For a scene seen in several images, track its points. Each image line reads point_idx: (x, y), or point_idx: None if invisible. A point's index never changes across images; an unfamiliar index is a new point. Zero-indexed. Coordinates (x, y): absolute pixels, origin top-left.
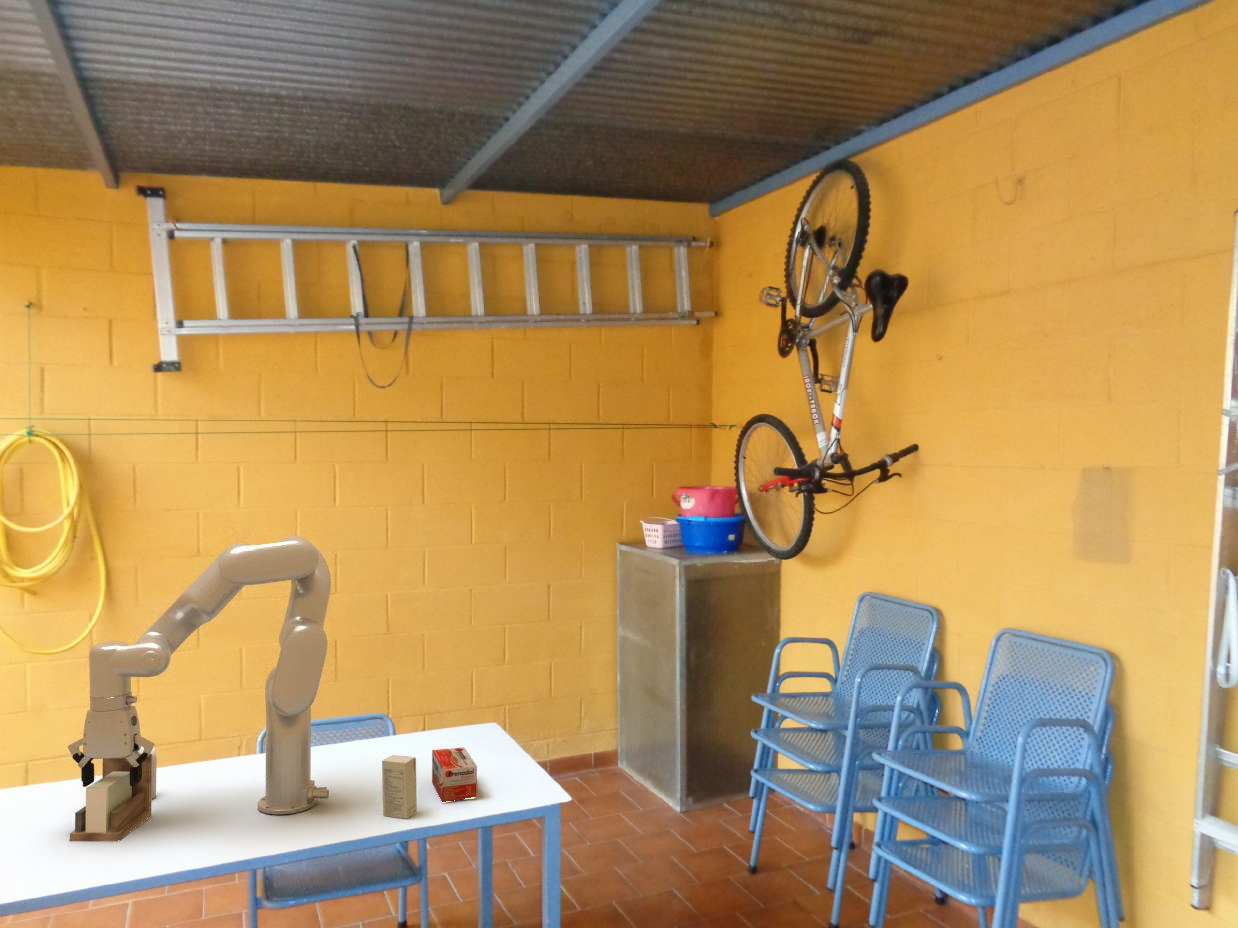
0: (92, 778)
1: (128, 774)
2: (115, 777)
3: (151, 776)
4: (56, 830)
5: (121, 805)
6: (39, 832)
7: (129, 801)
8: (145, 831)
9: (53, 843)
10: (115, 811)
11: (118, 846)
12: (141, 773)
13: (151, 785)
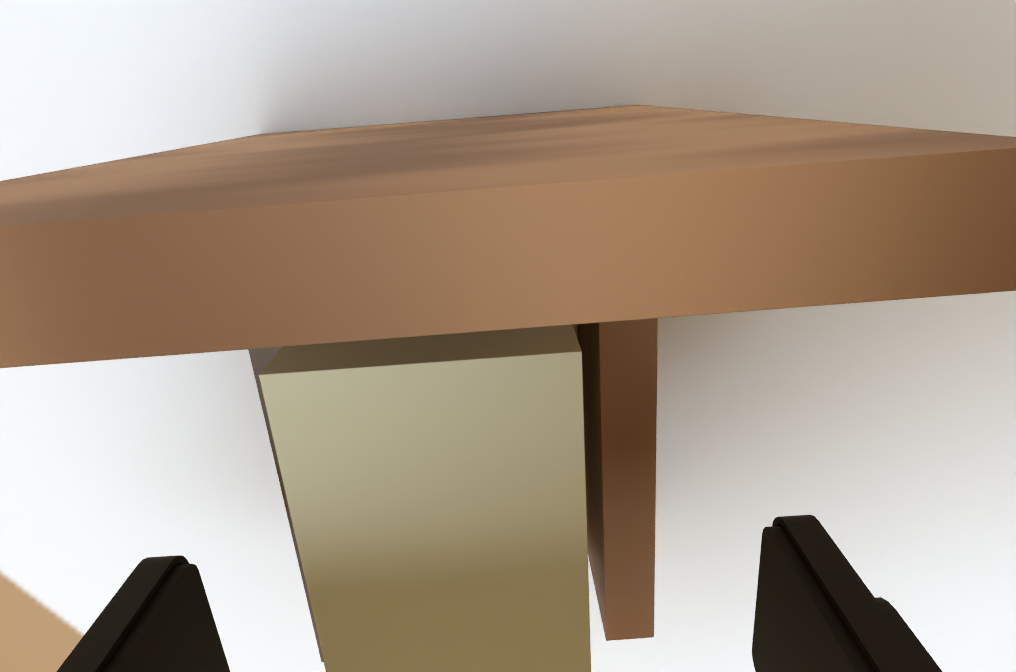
0: (178, 629)
1: (583, 441)
2: (484, 592)
3: (771, 116)
4: (128, 413)
5: (603, 506)
6: (47, 451)
7: (622, 416)
8: (729, 377)
9: (276, 574)
10: (625, 612)
11: (672, 574)
12: (915, 650)
13: (724, 112)
